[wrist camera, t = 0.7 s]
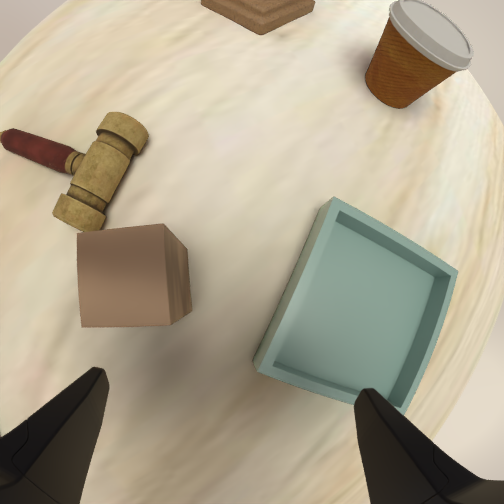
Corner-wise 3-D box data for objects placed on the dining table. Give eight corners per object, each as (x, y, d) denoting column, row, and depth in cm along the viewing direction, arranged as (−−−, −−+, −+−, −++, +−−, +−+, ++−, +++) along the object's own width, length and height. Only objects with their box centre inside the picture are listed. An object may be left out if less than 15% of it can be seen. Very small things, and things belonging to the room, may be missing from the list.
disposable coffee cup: (343, 53, 28) (380, -17, 16) (406, 67, 29) (451, 12, 17) (363, 114, 27) (420, 43, 15) (430, 125, 28) (491, 74, 16)
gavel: (-32, 165, 19) (11, 91, 21) (-9, 178, 24) (29, 109, 25) (79, 230, 19) (140, 116, 20) (104, 241, 23) (155, 142, 25)
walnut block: (192, 311, 23) (170, 325, 14) (133, 314, 23) (81, 327, 13) (187, 249, 24) (163, 223, 14) (129, 254, 23) (77, 233, 14)
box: (384, 405, 23) (402, 417, 20) (252, 360, 23) (257, 371, 19) (435, 273, 25) (458, 271, 22) (319, 208, 25) (333, 196, 22)
